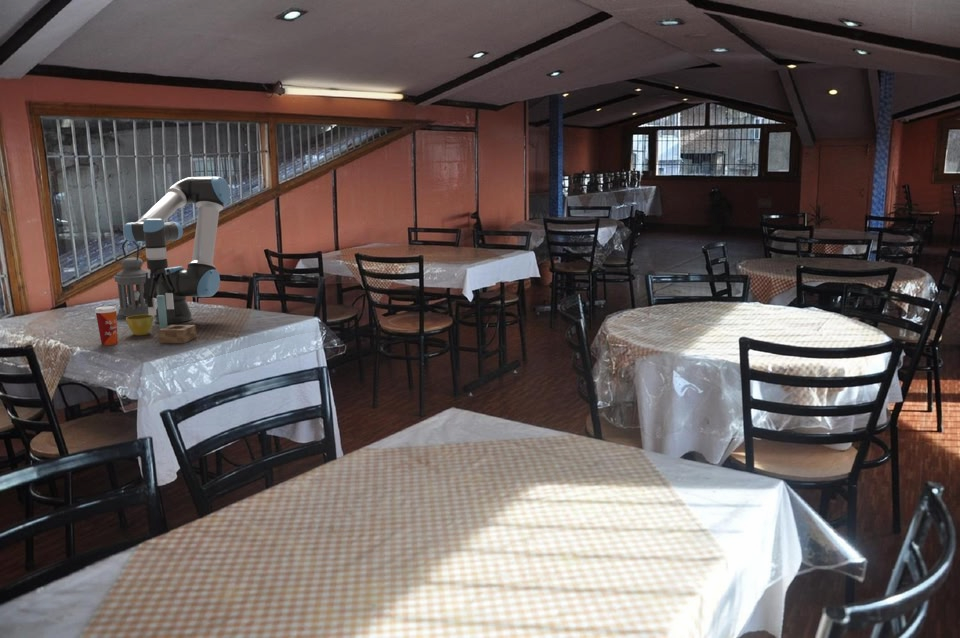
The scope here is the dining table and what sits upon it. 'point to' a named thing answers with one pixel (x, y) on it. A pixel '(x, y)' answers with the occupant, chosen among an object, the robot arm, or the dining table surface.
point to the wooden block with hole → (177, 333)
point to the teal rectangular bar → (162, 311)
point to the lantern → (128, 279)
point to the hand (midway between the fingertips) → (161, 312)
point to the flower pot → (140, 324)
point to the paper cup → (107, 324)
